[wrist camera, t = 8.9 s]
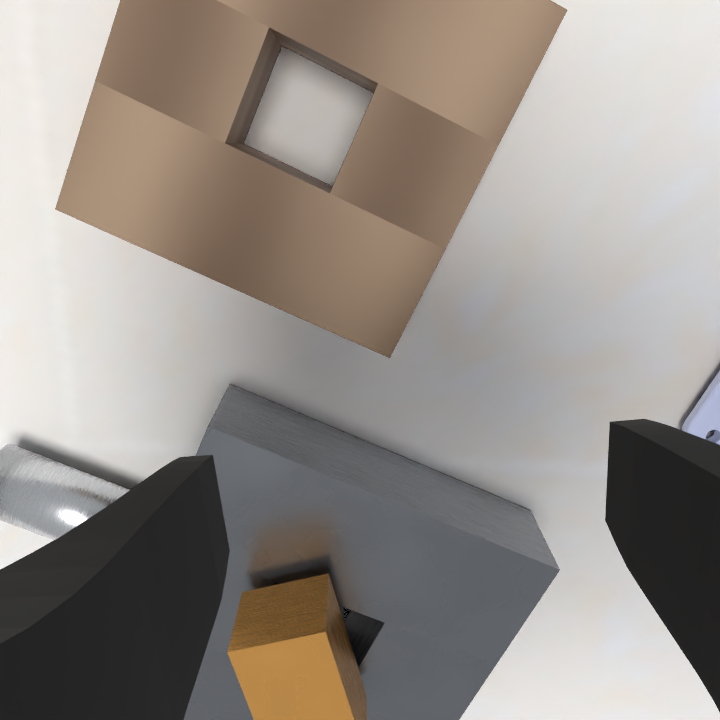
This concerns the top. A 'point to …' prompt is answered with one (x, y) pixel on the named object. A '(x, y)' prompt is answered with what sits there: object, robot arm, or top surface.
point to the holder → (284, 183)
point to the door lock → (338, 552)
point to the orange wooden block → (296, 654)
